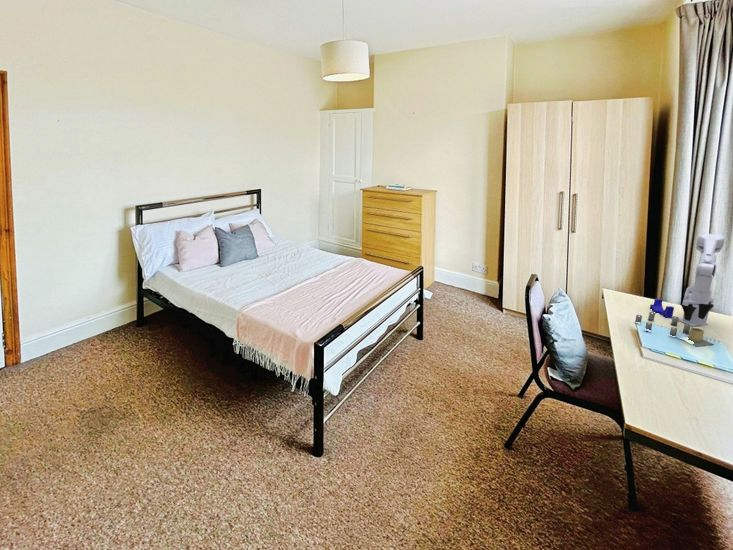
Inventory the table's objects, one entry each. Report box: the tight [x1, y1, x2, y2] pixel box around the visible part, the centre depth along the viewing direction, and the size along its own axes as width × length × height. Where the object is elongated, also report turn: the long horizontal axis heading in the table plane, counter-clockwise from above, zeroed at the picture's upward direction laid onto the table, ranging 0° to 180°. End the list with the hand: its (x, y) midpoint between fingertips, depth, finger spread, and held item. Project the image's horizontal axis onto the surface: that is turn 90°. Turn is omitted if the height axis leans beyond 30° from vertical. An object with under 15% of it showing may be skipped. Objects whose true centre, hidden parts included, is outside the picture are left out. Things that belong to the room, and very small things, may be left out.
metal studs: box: [634, 311, 692, 337], centre depth 201 cm, size 21×20×4 cm
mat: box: [686, 335, 714, 347], centre depth 188 cm, size 9×9×1 cm
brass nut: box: [688, 327, 705, 343], centre depth 187 cm, size 4×5×5 cm
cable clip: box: [649, 298, 675, 319], centre depth 219 cm, size 12×4×6 cm, turn 174°
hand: (694, 319), depth 188 cm, fingers open, 7 cm apart
